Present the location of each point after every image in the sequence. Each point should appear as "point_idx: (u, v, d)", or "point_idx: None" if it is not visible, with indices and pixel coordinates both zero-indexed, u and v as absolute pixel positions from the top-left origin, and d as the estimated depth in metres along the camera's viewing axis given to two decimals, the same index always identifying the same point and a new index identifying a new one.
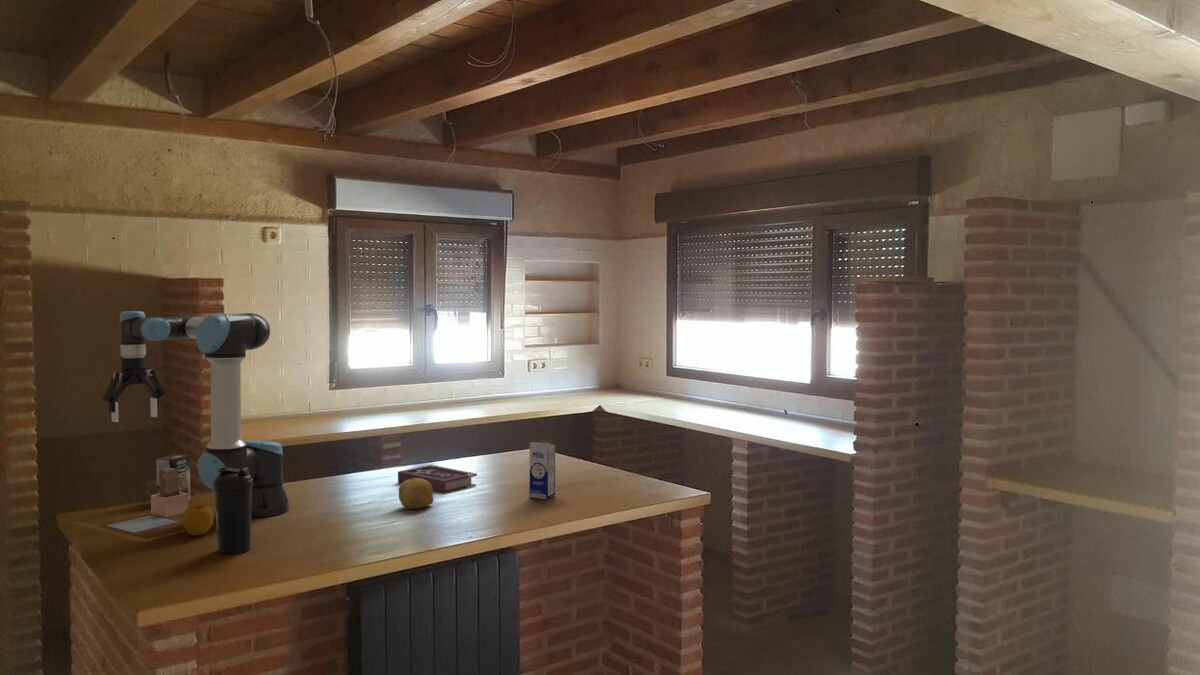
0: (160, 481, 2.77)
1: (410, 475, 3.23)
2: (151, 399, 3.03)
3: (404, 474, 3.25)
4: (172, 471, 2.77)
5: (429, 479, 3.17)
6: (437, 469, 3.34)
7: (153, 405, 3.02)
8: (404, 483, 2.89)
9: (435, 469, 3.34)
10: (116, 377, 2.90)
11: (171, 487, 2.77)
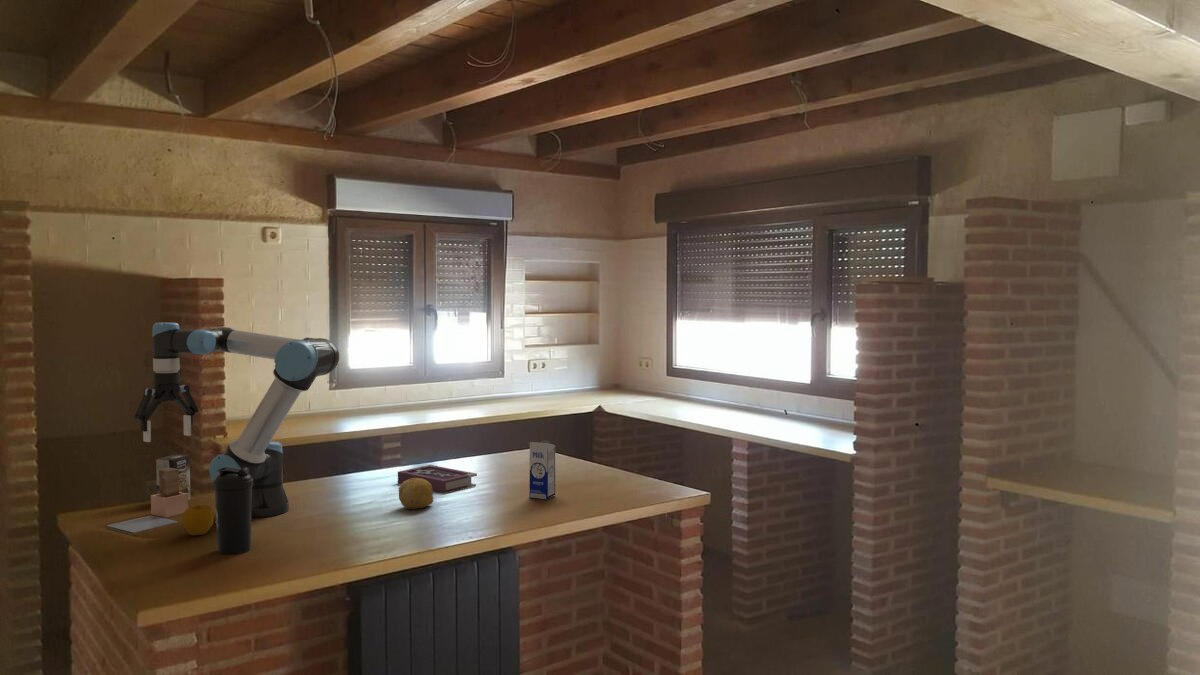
0: (160, 481, 2.77)
1: (410, 475, 3.23)
2: (184, 416, 2.83)
3: (404, 474, 3.25)
4: (172, 471, 2.77)
5: (429, 479, 3.17)
6: (437, 469, 3.34)
7: (186, 423, 2.82)
8: (404, 483, 2.89)
9: (435, 469, 3.34)
10: (148, 394, 2.70)
11: (171, 487, 2.77)
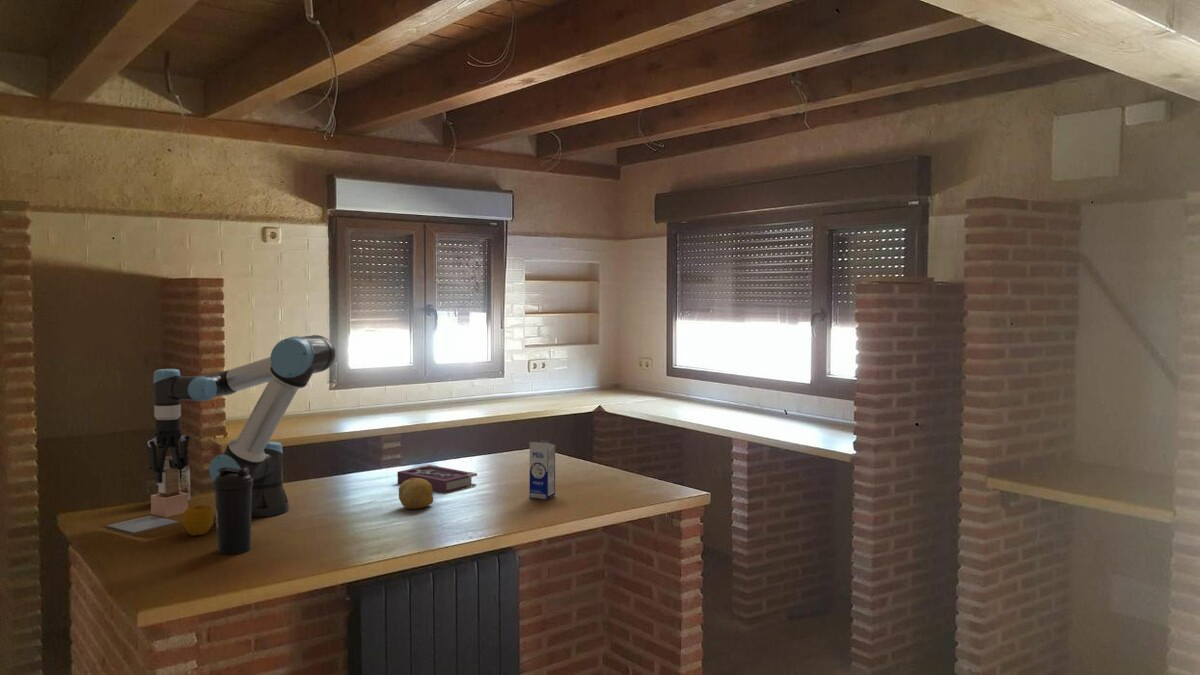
0: None
1: (410, 475, 3.23)
2: None
3: (404, 474, 3.25)
4: (172, 471, 2.77)
5: (430, 479, 3.17)
6: (436, 469, 3.34)
7: None
8: (404, 483, 2.89)
9: (434, 469, 3.34)
10: (152, 446, 2.72)
11: (171, 487, 2.77)
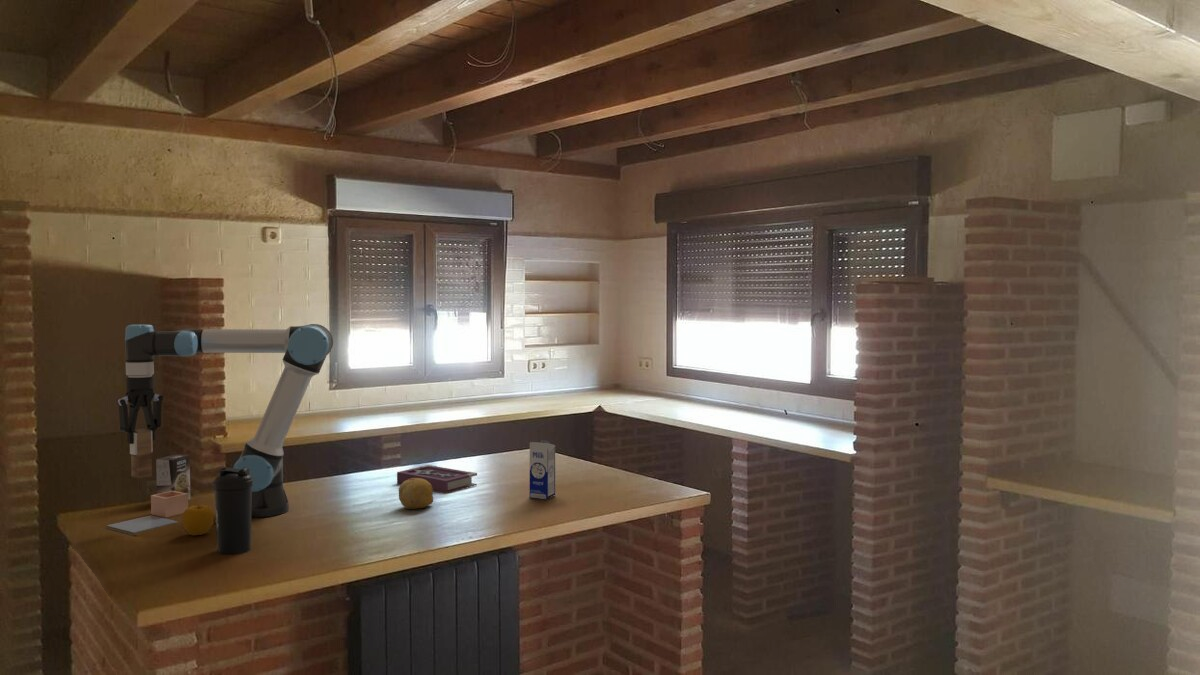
0: None
1: (410, 475, 3.22)
2: None
3: (404, 474, 3.24)
4: (144, 432, 2.63)
5: (430, 479, 3.17)
6: (435, 469, 3.34)
7: None
8: (404, 483, 2.89)
9: (433, 469, 3.34)
10: (123, 404, 2.58)
11: (143, 449, 2.63)
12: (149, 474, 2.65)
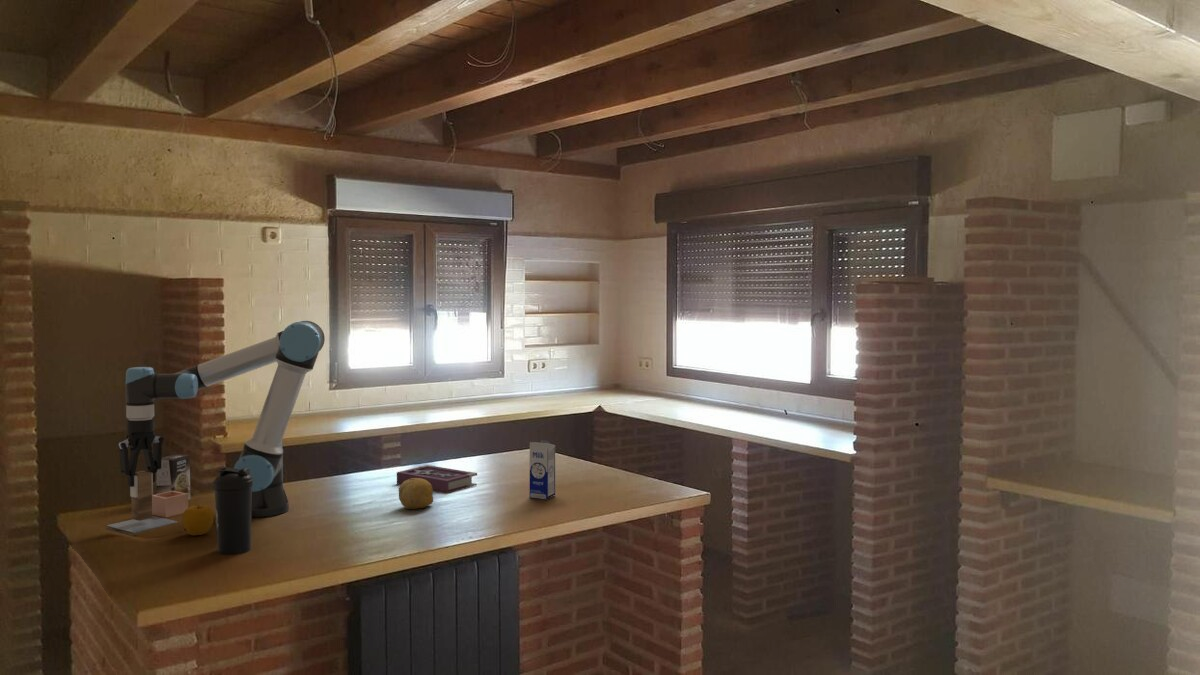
0: None
1: (410, 475, 3.22)
2: None
3: (403, 475, 3.24)
4: (145, 474, 2.64)
5: (431, 479, 3.17)
6: (435, 469, 3.34)
7: None
8: (404, 483, 2.89)
9: (433, 469, 3.34)
10: (123, 448, 2.59)
11: (144, 491, 2.64)
12: (149, 516, 2.66)
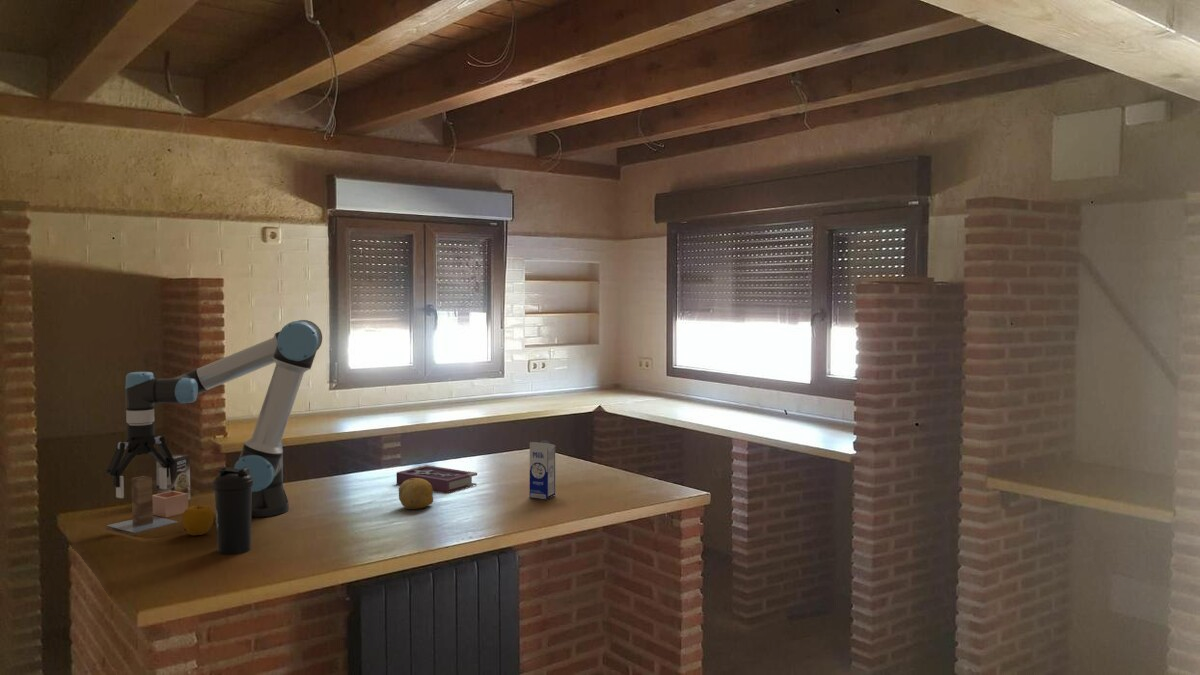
0: (132, 490, 2.64)
1: (410, 476, 3.22)
2: (160, 469, 2.71)
3: (403, 475, 3.24)
4: (145, 479, 2.64)
5: (431, 479, 3.17)
6: (434, 469, 3.34)
7: (162, 476, 2.70)
8: (404, 483, 2.89)
9: (432, 469, 3.34)
10: (121, 448, 2.58)
11: (144, 496, 2.64)
12: (150, 521, 2.66)
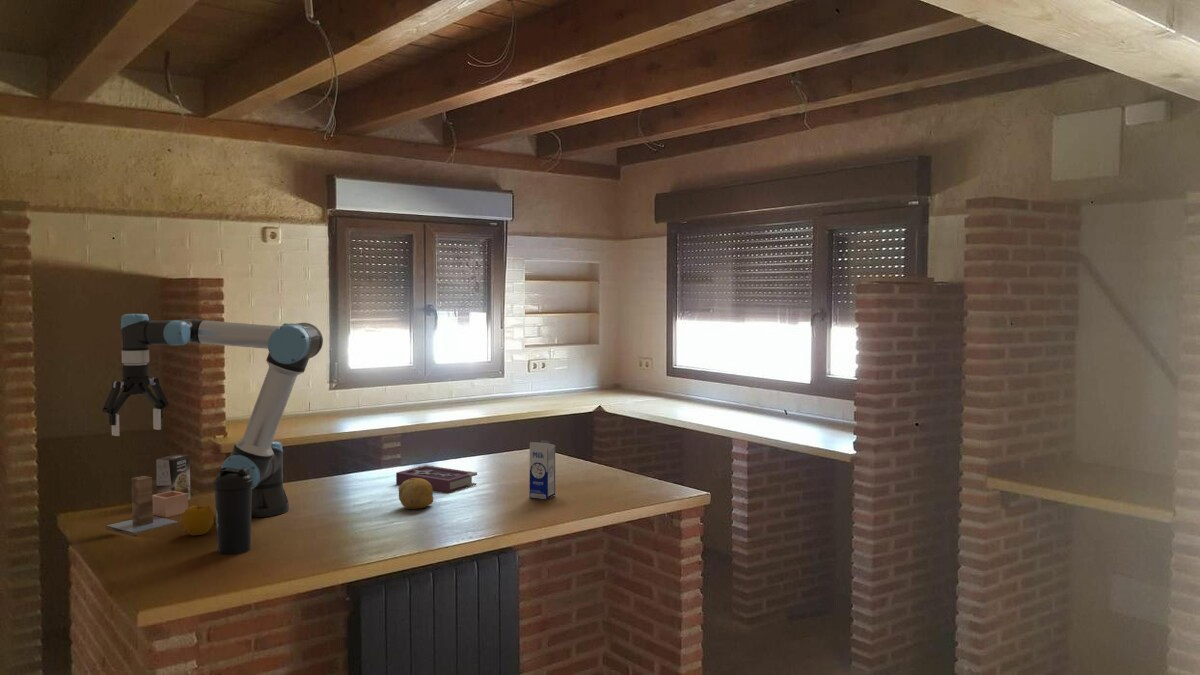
0: (132, 490, 2.64)
1: (410, 476, 3.22)
2: (154, 410, 2.77)
3: (403, 475, 3.24)
4: (145, 479, 2.64)
5: (432, 479, 3.16)
6: (434, 469, 3.34)
7: (156, 416, 2.76)
8: (404, 483, 2.89)
9: (432, 469, 3.34)
10: (117, 386, 2.64)
11: (144, 496, 2.64)
12: (150, 521, 2.66)
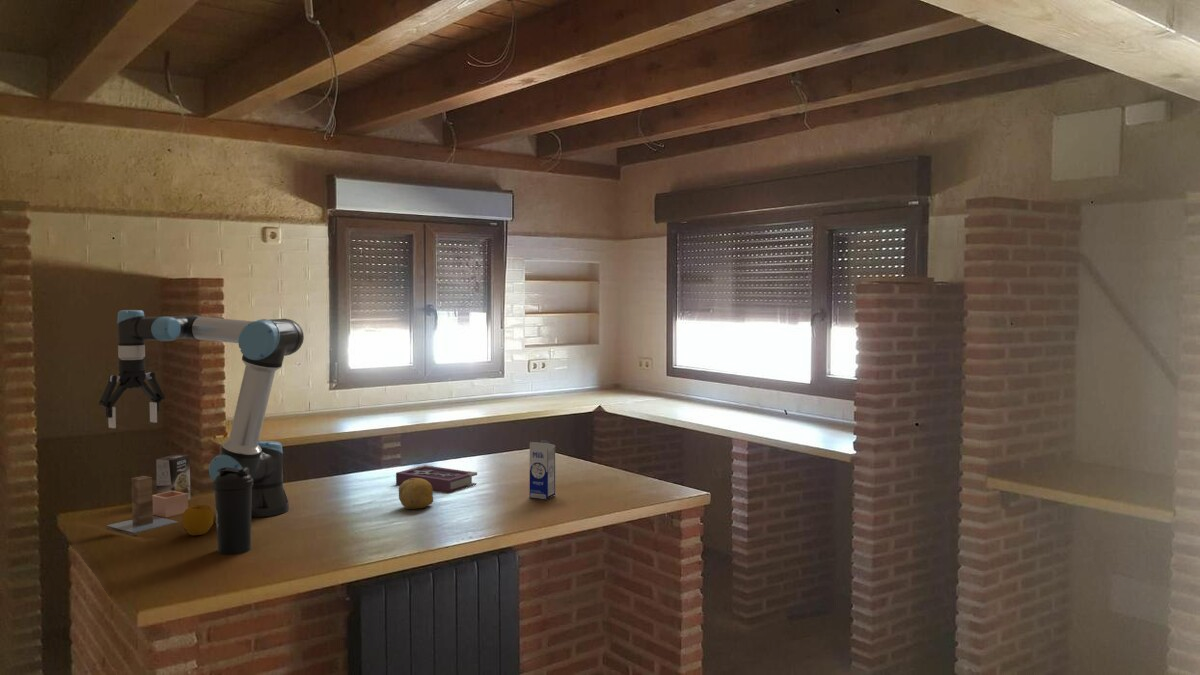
0: (132, 490, 2.64)
1: (410, 476, 3.22)
2: (150, 403, 2.85)
3: (403, 475, 3.23)
4: (145, 479, 2.64)
5: (432, 479, 3.16)
6: (434, 469, 3.34)
7: (152, 410, 2.85)
8: (404, 483, 2.89)
9: (431, 469, 3.34)
10: (113, 380, 2.73)
11: (144, 496, 2.64)
12: (150, 521, 2.66)
